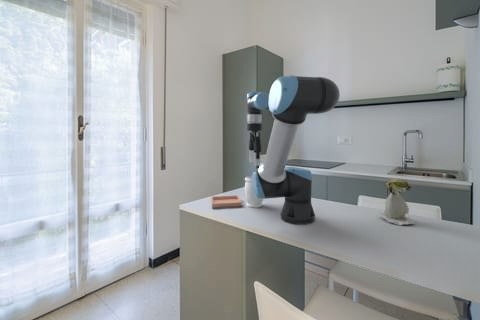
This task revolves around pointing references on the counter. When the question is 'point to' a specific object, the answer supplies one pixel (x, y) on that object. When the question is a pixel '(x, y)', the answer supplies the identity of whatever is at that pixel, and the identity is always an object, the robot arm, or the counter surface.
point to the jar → (251, 194)
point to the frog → (397, 203)
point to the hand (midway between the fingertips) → (254, 163)
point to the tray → (226, 201)
